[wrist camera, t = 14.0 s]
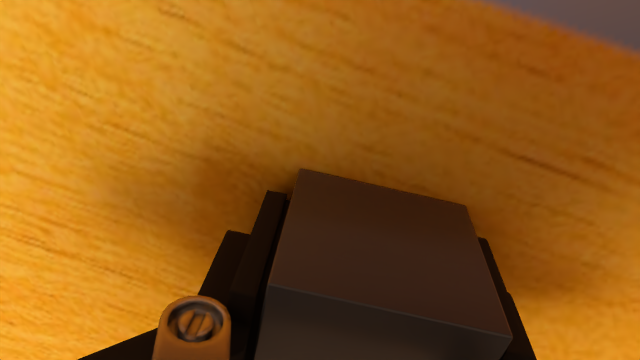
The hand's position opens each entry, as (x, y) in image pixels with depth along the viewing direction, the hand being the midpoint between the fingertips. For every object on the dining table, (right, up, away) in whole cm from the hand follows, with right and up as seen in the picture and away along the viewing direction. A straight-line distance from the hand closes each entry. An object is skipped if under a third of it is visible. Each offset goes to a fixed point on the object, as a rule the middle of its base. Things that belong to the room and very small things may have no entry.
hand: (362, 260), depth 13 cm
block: (0, 0, 0) cm, 0 cm away
